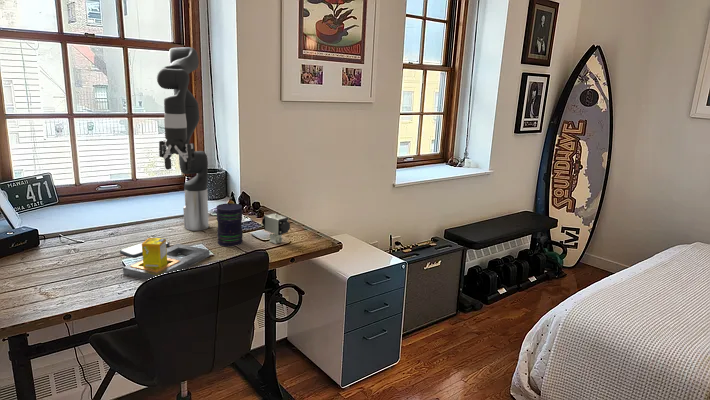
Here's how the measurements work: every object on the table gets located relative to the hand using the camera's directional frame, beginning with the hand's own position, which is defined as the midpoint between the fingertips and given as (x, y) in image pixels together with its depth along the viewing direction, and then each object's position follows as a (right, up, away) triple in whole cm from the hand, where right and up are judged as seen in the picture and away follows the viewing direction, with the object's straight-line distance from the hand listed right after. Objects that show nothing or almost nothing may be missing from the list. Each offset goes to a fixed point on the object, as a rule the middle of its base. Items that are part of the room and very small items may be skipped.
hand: (177, 170), depth 178 cm
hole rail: (0, -34, -10) cm, 35 cm away
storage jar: (+15, -28, +15) cm, 35 cm away
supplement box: (-2, -35, -15) cm, 38 cm away
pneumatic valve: (+34, -28, +18) cm, 47 cm away
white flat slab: (-14, -30, +4) cm, 33 cm away
